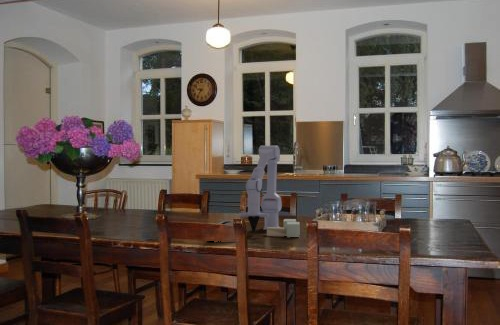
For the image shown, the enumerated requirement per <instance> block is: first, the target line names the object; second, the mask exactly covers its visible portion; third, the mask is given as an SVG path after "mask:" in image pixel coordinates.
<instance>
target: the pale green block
mask: <svg viewBox="0 0 500 325" xmlns="http://www.w3.org/2000/svg"><path fill="white" fill-rule="evenodd" d="M287 222H297V219H296V218H284V219H283V227H286V228H287Z"/></svg>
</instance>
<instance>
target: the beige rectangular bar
mask: <svg viewBox="0 0 500 325" xmlns="http://www.w3.org/2000/svg"><path fill="white" fill-rule="evenodd" d="M284 236H287V228H286V227H281V226H280V227H267V230H266V237H284Z"/></svg>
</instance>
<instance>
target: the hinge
mask: <svg viewBox="0 0 500 325" xmlns="http://www.w3.org/2000/svg"><path fill="white" fill-rule="evenodd" d="M233 223H234V222H232V221H230V220H222V221H219V222H218V223H217V224H224V225H233Z"/></svg>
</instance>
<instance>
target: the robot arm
mask: <svg viewBox="0 0 500 325" xmlns="http://www.w3.org/2000/svg"><path fill="white" fill-rule="evenodd" d="M280 153H281V149H280V146H278V145H262V144H261V145H260V146H259V147H258V156H259V158H258V162H257V166H256V167H254V168H253V170H252V173H251V176H250V177H249V179H248V180H247V181H246V182H245V189H246V194H247V212H239V213H238V218H247V221H248V223H249V224H250V227H251V228H250V229H251V231H252V233H256V231H257V225H258V223H259V221H260V218H264V227H263V228H262V229H263V230H265V231H267V227H281V226H279V212H281V210H282V209H283V208H282V207H283V206H282V205H283V202H282V197H281V196H280V195H278V193H277V176H278V174H277V173H278V172H277V170H278V168H277V167H278V162H279V161H281V158H280V157H281V154H280ZM266 166H267V169H266V171H267V172H265V167H266ZM265 173H266V174H267V176H266V178H267V179H266V194H264V195H263V196H261V195H260V194H261V190H262V188H263V178H264V176H265ZM260 197H262V198H261V199H260ZM260 200H261V201H260ZM260 202H261V203H260ZM260 207H261V208H260ZM261 210H262V211H263V212H261Z"/></svg>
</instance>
